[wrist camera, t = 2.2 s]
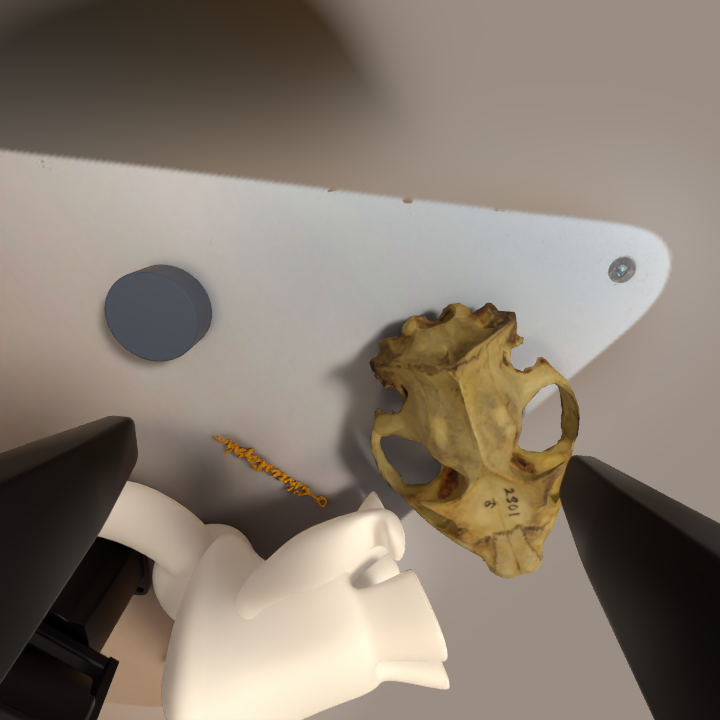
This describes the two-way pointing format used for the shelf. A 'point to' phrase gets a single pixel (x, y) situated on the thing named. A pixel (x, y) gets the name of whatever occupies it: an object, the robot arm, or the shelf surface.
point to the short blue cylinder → (158, 312)
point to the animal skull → (475, 433)
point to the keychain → (270, 470)
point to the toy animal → (280, 611)
